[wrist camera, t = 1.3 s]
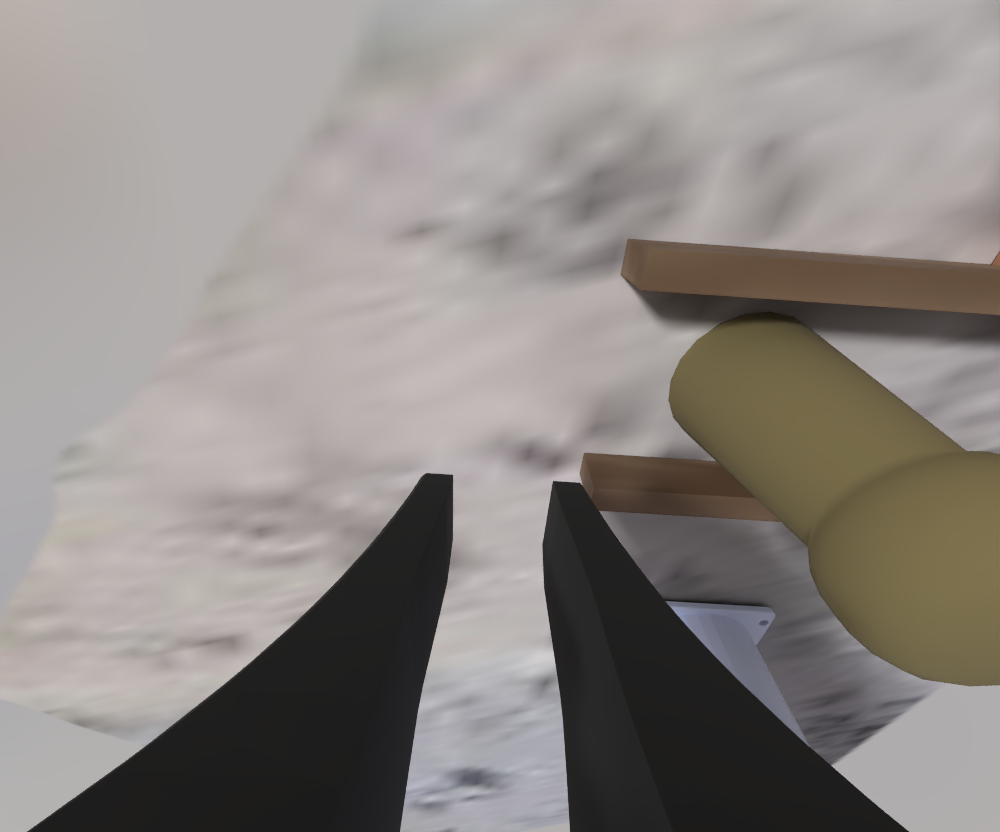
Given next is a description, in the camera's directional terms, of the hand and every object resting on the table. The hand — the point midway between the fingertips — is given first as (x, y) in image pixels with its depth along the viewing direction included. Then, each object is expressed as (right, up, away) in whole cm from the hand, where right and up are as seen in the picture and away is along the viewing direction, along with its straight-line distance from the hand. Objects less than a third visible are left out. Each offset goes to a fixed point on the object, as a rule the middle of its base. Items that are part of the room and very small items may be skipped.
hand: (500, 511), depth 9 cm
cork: (+10, +4, +8) cm, 13 cm away
